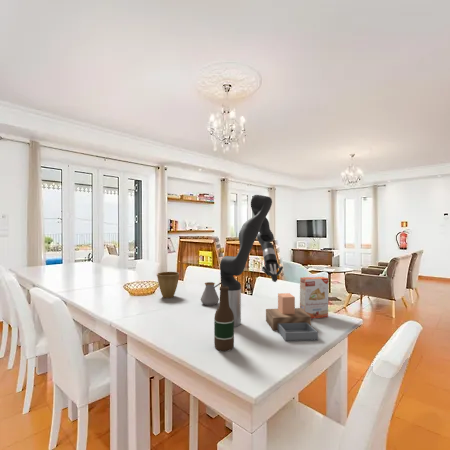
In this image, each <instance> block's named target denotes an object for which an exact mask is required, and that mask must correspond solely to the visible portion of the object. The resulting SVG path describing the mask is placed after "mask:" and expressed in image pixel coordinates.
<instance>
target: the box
mask: <svg viewBox="0 0 450 450" xmlns="http://www.w3.org/2000/svg"><path fill="white" fill-rule="evenodd" d="M277 333H278V334H279V335H280V336H281V338H282V339H283V340H284V341H285V342H305V341H306V342H307V341H308V342H309V341H318V340H319V332H318V331H317V330H316V329H315V328H314V327H313V326H312V324H311V325H309V324H308V323H278V331H277Z"/></svg>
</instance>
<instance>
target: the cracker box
mask: <svg viewBox="0 0 450 450" xmlns="http://www.w3.org/2000/svg"><path fill="white" fill-rule="evenodd" d="M299 279H300V280H299V308H301V309H302V310H303V311H305V312H306V313H307V314H308V315H310V316H311V320H312V319H319V318H321V319H322V318H328V317H329V280H330V279H329V278H328V277H325V276H311V277H310V276H307V277H304V276H303V277H300V278H299Z"/></svg>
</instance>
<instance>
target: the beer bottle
mask: <svg viewBox="0 0 450 450" xmlns="http://www.w3.org/2000/svg"><path fill="white" fill-rule="evenodd" d="M228 290H229V287H227V286H222V285H221V286H220V287H219V301H218V303H219V304H218V307H217V309H216V310H215V314H214V320H213V321H214V322H213V324H214V327H213V328H214V329H213V330H214V331H213V332H214V335H213V337H214V339H213V341H214V342H213V343H214V344H213V345H214V348H215V349H216V350H217V351H220V350H221V351H220V352H227V351H231V350H232V349H233V348H234V345H235V327H234V315H233V312H232V310H231V308H230V306H229V295H228Z"/></svg>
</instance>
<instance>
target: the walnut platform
mask: <svg viewBox="0 0 450 450" xmlns="http://www.w3.org/2000/svg"><path fill="white" fill-rule="evenodd" d="M265 321H266V323H267V325H268V326H269V327H270V329H271V330H272V331H277V332H278V323H308V324H309V325H311V326H312V319H311V316H310V315H308V314H307V313H306V312H305V311H303V310H302V309H301V308H300V307H296V308H295V314H282V313H281V312H280V311H279V310H278V308H266V309H265Z"/></svg>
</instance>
